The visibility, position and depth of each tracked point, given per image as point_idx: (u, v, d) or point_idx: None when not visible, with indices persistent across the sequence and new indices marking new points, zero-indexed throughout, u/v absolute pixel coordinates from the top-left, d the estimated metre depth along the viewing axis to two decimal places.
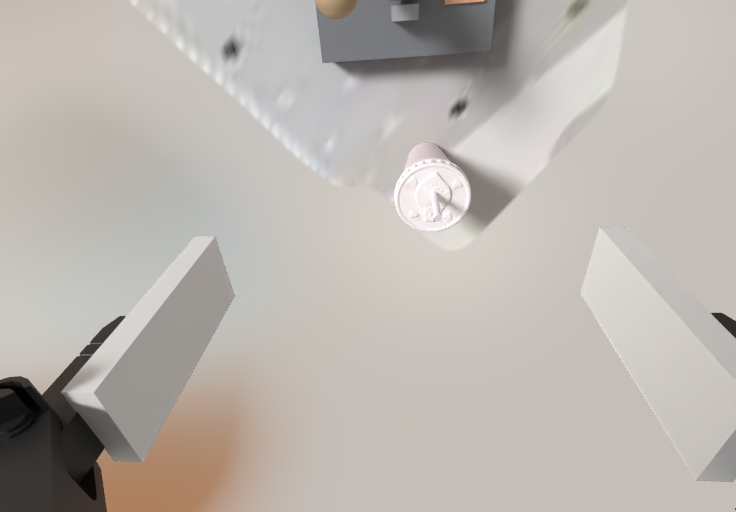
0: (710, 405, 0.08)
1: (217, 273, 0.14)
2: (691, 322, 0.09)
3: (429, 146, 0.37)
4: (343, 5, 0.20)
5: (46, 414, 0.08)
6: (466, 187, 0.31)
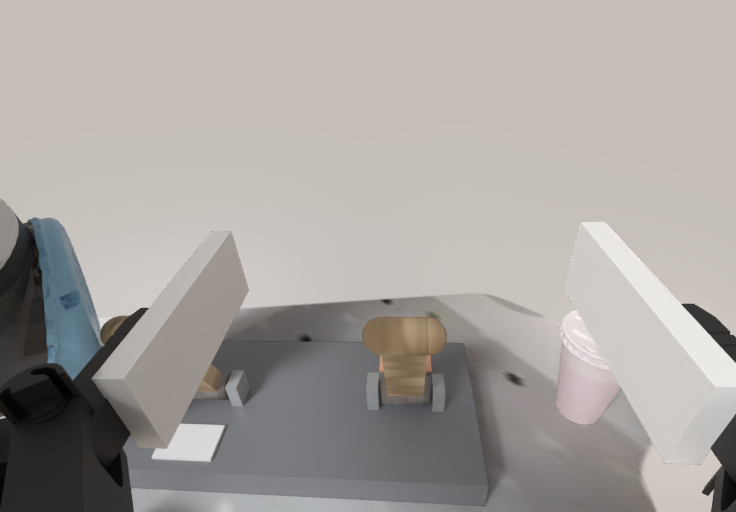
0: (676, 390, 0.08)
1: (233, 267, 0.14)
2: (661, 311, 0.09)
3: (557, 389, 0.35)
4: (437, 320, 0.25)
5: (78, 401, 0.08)
6: None
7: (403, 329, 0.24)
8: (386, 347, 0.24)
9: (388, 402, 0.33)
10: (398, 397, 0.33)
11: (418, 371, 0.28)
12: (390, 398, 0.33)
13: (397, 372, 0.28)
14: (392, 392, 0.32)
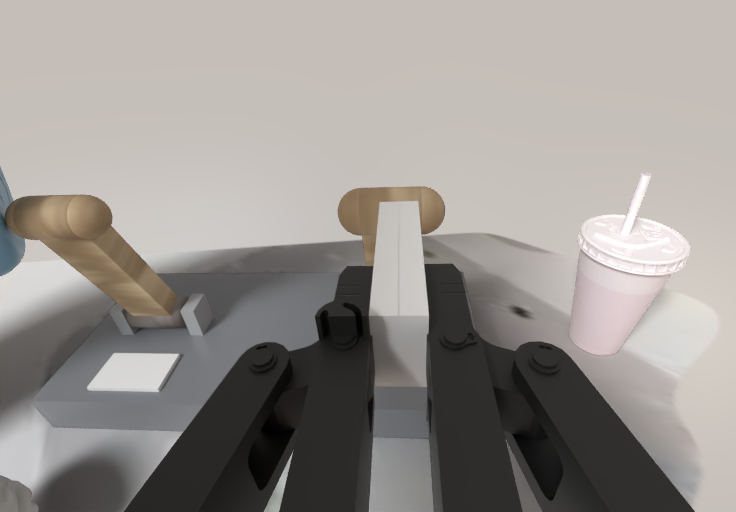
0: None
1: None
2: (404, 266, 0.11)
3: (572, 316, 0.30)
4: (432, 189, 0.19)
5: (366, 343, 0.09)
6: (600, 217, 0.28)
7: (389, 196, 0.19)
8: (368, 220, 0.19)
9: None
10: None
11: None
12: None
13: None
14: None
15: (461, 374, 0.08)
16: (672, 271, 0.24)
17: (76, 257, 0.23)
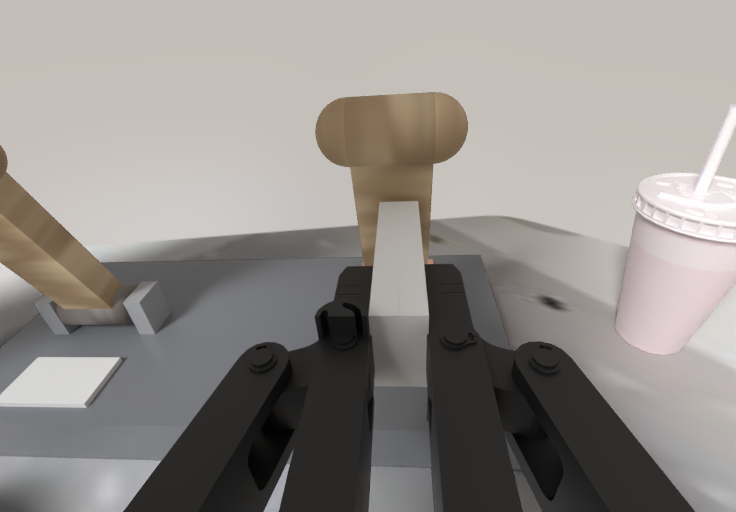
0: None
1: None
2: (404, 266, 0.11)
3: (621, 305, 0.24)
4: None
5: (365, 343, 0.09)
6: (660, 176, 0.22)
7: (388, 101, 0.13)
8: (357, 136, 0.13)
9: None
10: None
11: None
12: None
13: None
14: None
15: (461, 374, 0.08)
16: None
17: None
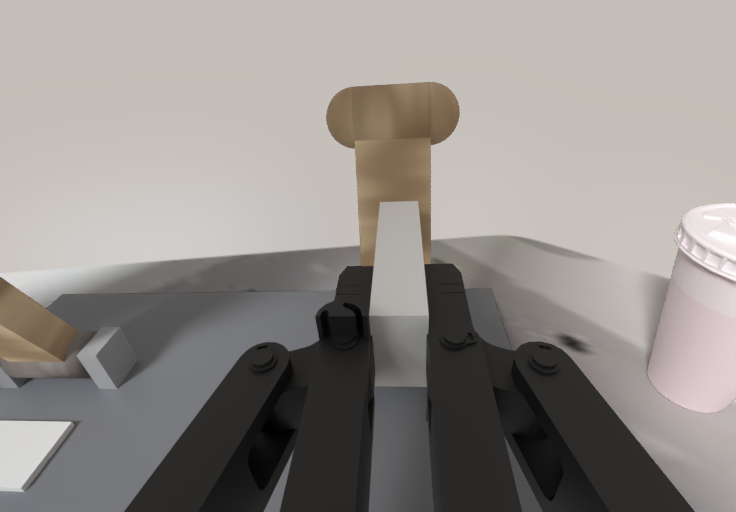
0: None
1: None
2: (403, 266, 0.11)
3: (657, 354, 0.21)
4: None
5: (366, 343, 0.09)
6: (707, 207, 0.19)
7: None
8: (363, 102, 0.15)
9: None
10: None
11: None
12: None
13: None
14: None
15: (461, 374, 0.08)
16: None
17: None
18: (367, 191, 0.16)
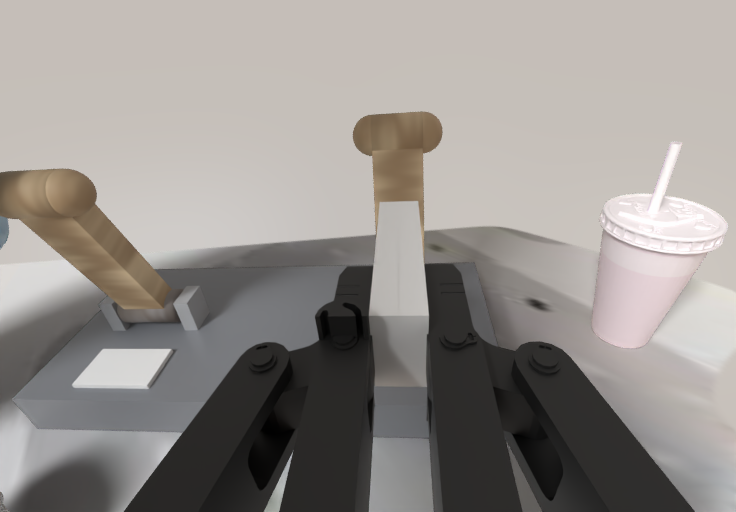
0: None
1: None
2: (404, 266, 0.11)
3: (595, 306, 0.28)
4: None
5: (366, 343, 0.09)
6: (624, 196, 0.26)
7: (396, 113, 0.23)
8: (377, 125, 0.22)
9: None
10: None
11: None
12: None
13: None
14: None
15: (461, 374, 0.08)
16: (709, 249, 0.21)
17: (59, 239, 0.21)
18: (380, 184, 0.24)
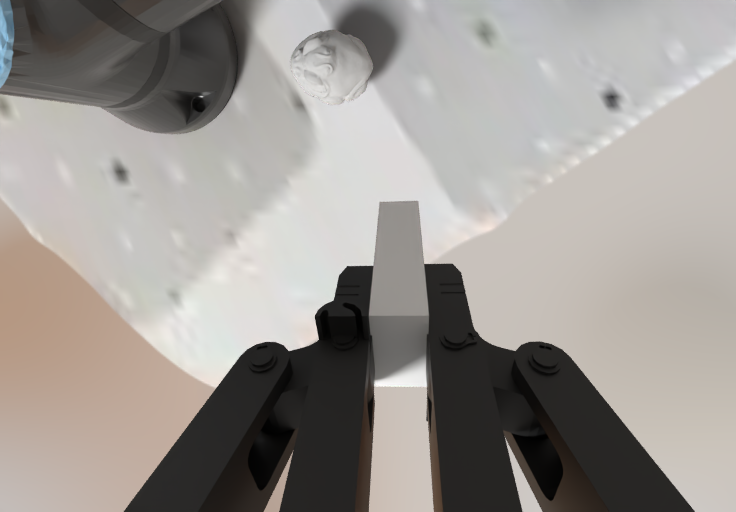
0: None
1: None
2: (403, 266, 0.11)
3: None
4: None
5: (366, 343, 0.09)
6: None
7: None
8: None
9: None
10: None
11: None
12: None
13: None
14: None
15: (461, 374, 0.08)
16: None
17: None
18: None
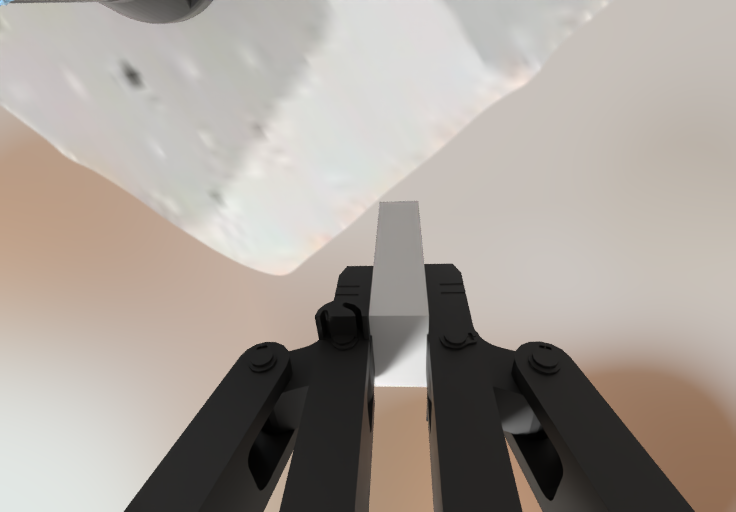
0: None
1: None
2: (404, 266, 0.11)
3: None
4: None
5: (365, 343, 0.09)
6: None
7: None
8: None
9: None
10: None
11: None
12: None
13: None
14: None
15: (461, 374, 0.08)
16: None
17: None
18: None
